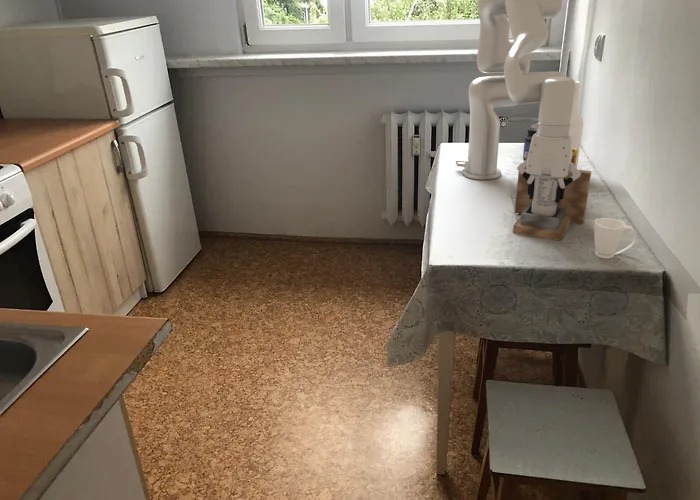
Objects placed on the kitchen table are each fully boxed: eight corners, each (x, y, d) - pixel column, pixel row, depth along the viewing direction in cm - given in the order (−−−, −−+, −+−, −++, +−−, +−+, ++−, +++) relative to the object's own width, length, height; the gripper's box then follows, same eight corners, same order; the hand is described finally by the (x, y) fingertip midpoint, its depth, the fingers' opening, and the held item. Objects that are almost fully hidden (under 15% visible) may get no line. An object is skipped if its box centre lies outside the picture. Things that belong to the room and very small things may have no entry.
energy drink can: (554, 212, 152) (561, 156, 146) (555, 220, 147) (563, 163, 141) (530, 210, 154) (537, 155, 148) (531, 219, 149) (537, 162, 142)
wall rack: (501, 230, 151) (505, 179, 145) (516, 211, 163) (521, 163, 157) (573, 242, 143) (581, 189, 137) (583, 221, 155) (591, 171, 149)
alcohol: (546, 171, 195) (556, 79, 182) (573, 171, 193) (586, 79, 180) (548, 179, 187) (560, 84, 174) (577, 180, 185) (591, 84, 172)
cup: (584, 248, 140) (589, 217, 137) (627, 248, 140) (633, 216, 136) (593, 261, 134) (599, 229, 131) (638, 261, 133) (645, 228, 130)
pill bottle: (542, 162, 204) (546, 130, 199) (525, 162, 204) (528, 131, 199) (537, 157, 209) (541, 126, 205) (520, 157, 209) (523, 127, 205)
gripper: (513, 130, 142) (507, 199, 150) (588, 137, 134) (577, 209, 142) (521, 123, 148) (515, 190, 156) (593, 129, 140) (582, 199, 148)
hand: (545, 198), depth 149 cm, fingers closed on energy drink can, 6 cm apart
